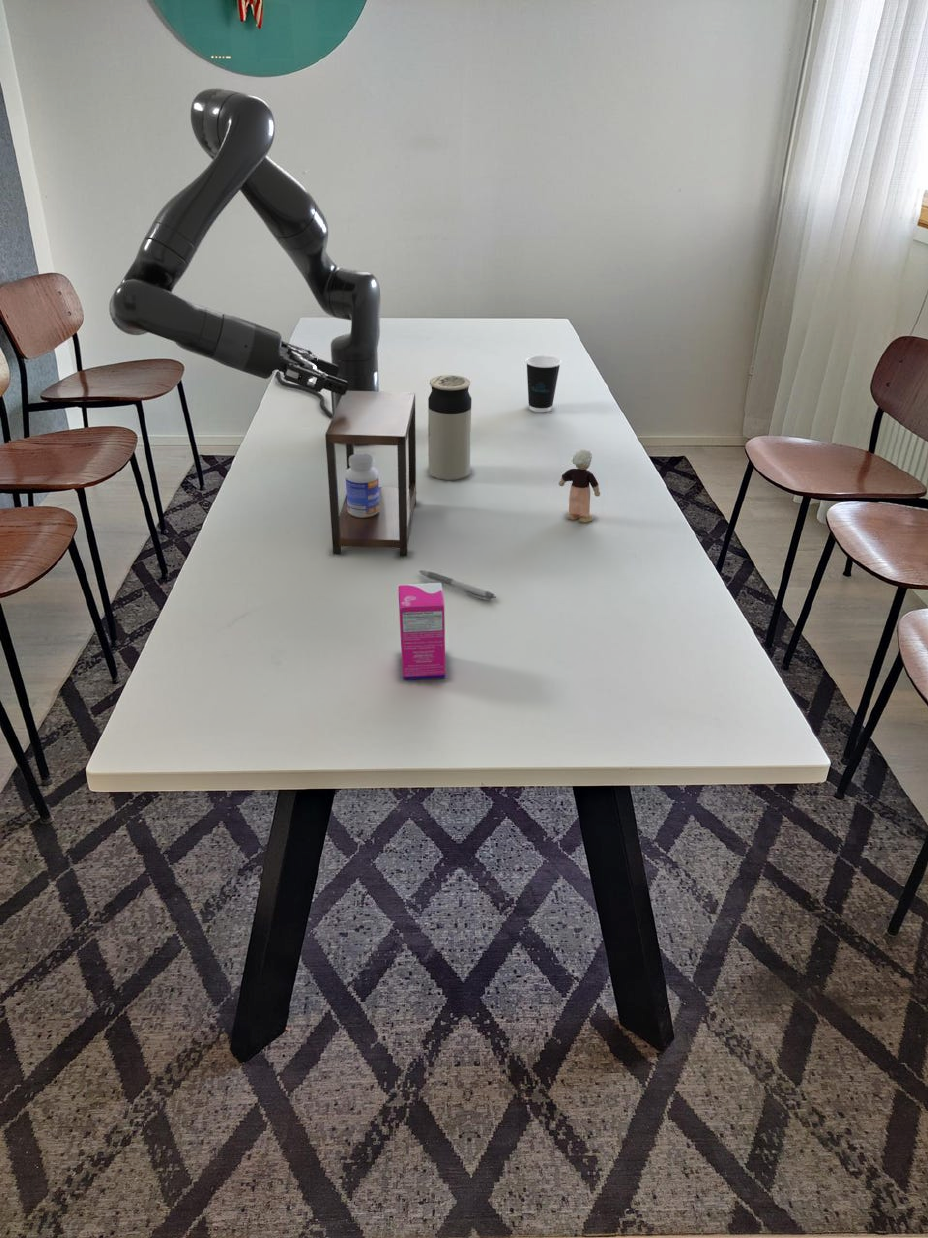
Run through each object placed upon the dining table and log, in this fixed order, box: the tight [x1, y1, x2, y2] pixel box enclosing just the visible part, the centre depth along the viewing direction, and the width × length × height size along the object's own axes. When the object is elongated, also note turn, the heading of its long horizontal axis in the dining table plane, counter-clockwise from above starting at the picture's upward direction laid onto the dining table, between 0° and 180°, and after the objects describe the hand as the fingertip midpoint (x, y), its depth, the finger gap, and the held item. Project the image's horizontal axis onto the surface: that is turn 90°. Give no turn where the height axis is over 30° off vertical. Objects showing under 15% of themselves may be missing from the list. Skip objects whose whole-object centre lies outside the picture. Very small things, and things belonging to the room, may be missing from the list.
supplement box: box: [398, 582, 447, 681], centre depth 119 cm, size 6×6×12 cm
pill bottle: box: [345, 452, 380, 518], centre depth 151 cm, size 5×5×10 cm
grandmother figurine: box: [558, 448, 601, 524], centre depth 157 cm, size 8×4×13 cm, turn 71°
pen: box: [418, 569, 497, 601], centre depth 139 cm, size 1×14×1 cm, turn 57°
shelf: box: [324, 391, 417, 558], centre depth 150 cm, size 12×20×20 cm, turn 178°
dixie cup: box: [524, 355, 562, 413], centre depth 204 cm, size 8×8×11 cm
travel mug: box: [427, 374, 472, 481], centre depth 171 cm, size 8×8×18 cm
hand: (342, 380), depth 149 cm, fingers open, 8 cm apart
